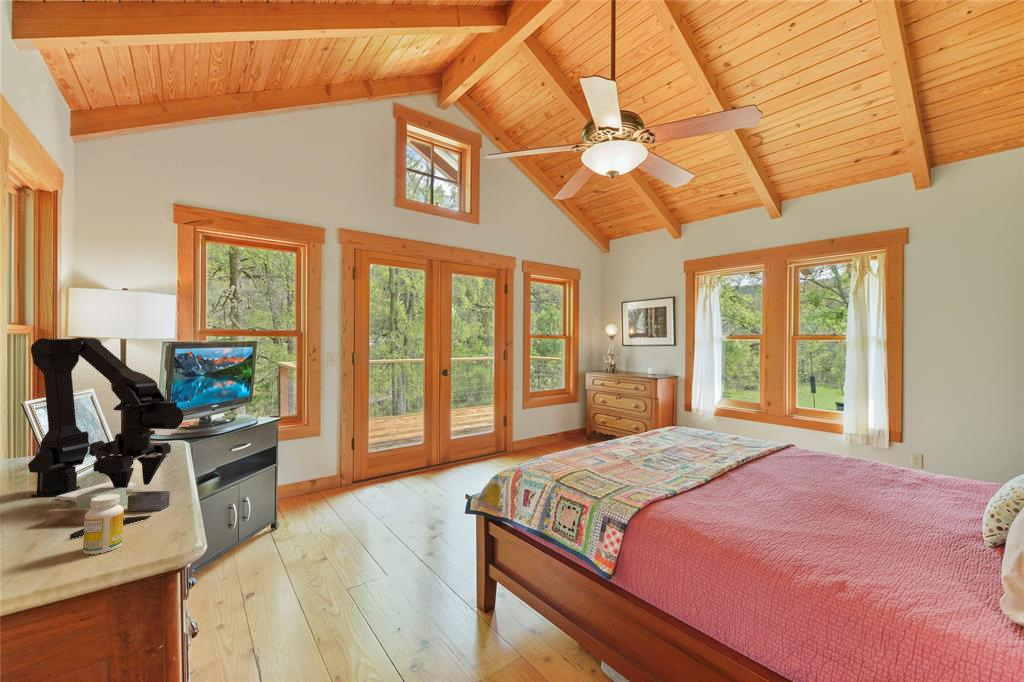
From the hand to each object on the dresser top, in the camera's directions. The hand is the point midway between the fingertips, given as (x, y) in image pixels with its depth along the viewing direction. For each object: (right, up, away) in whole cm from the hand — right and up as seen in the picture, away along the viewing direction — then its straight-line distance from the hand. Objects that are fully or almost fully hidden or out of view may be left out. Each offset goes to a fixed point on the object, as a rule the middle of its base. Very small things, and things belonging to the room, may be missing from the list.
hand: (134, 490), depth 110 cm
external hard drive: (-11, -2, +2) cm, 12 cm away
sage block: (0, -1, -9) cm, 9 cm away
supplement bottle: (+19, -2, -28) cm, 34 cm away
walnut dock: (+2, -1, -15) cm, 15 cm away
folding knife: (+12, -2, -19) cm, 23 cm away
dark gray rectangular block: (+11, -2, -8) cm, 13 cm away
